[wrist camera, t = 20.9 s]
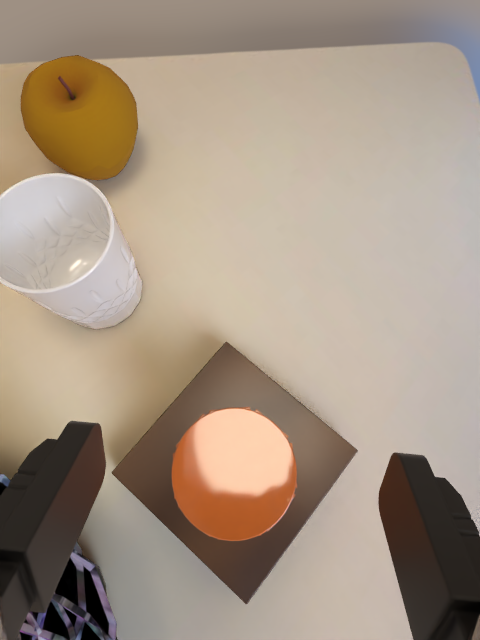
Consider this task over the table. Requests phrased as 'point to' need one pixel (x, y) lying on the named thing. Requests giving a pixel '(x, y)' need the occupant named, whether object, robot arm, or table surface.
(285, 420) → the cup stand
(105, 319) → the white cup
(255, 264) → the table surface
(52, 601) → the decorative bowl
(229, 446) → the orange cup
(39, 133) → the apple
